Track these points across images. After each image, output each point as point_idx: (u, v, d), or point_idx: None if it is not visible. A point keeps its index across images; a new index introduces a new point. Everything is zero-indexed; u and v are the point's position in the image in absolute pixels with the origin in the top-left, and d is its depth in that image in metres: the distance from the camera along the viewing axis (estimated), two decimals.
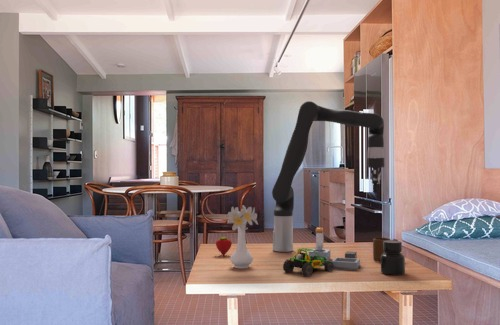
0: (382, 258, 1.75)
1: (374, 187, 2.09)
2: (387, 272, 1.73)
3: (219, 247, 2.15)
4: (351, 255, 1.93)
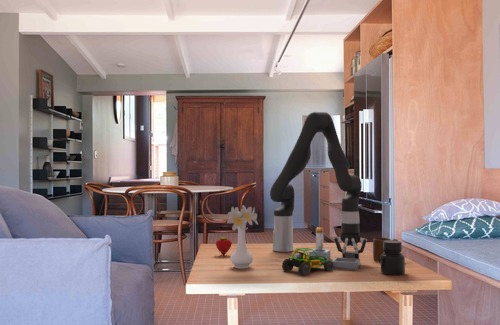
0: (382, 258, 1.75)
1: (358, 257, 1.95)
2: (387, 272, 1.73)
3: (219, 247, 2.15)
4: (351, 255, 1.93)
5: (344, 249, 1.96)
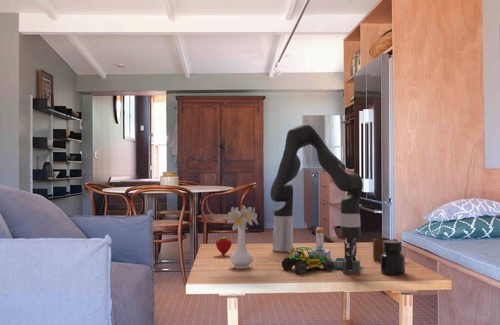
0: (382, 258, 1.75)
1: None
2: (387, 272, 1.73)
3: (219, 247, 2.15)
4: (359, 263, 1.77)
5: (352, 255, 1.73)
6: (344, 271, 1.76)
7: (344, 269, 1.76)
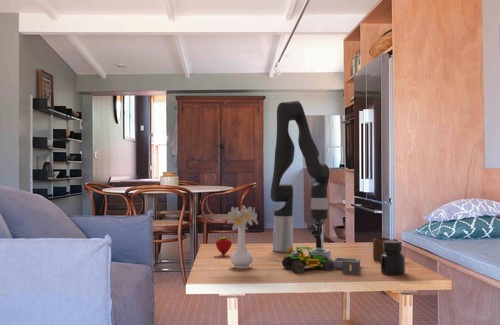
0: (382, 258, 1.75)
1: None
2: (387, 272, 1.73)
3: (219, 247, 2.15)
4: (359, 263, 1.77)
5: (321, 235, 2.02)
6: (344, 271, 1.76)
7: (344, 269, 1.76)
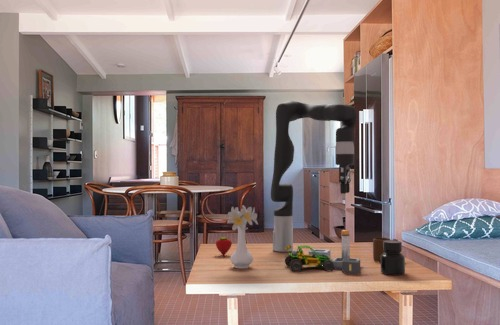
0: (382, 258, 1.75)
1: None
2: (387, 272, 1.73)
3: (219, 247, 2.15)
4: (359, 263, 1.77)
5: (346, 180, 1.84)
6: (344, 271, 1.76)
7: (344, 269, 1.77)
